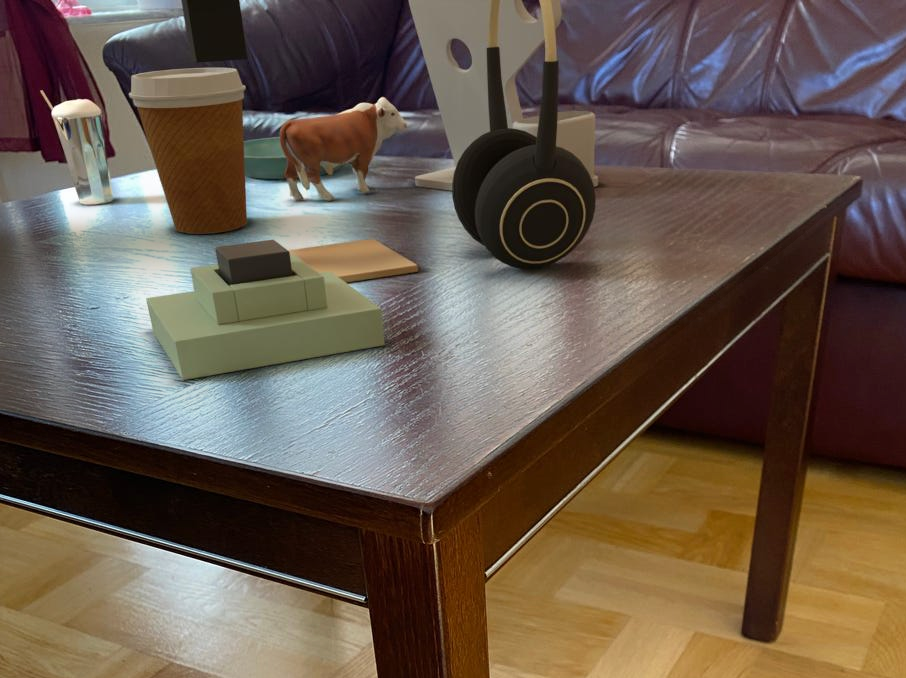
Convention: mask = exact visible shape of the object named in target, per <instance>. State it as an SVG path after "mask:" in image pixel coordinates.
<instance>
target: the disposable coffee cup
mask: <svg viewBox="0 0 906 678" xmlns="http://www.w3.org/2000/svg"><path fill="white" fill-rule="evenodd" d="M130 78H131V79H130V80H131V81H130V84H131V87H130V92H128V96H129V98H130V99H132V102H133V106H135V107H136V109H137V111H138V114H139V118H140V121H141V124H142V127H143V130H144V134H145V137H146V140H147V143H148V146H149V150H150V153H151V155H152V159H153V162H154V165H155V169H156V171H157V174H158V178H159V181H160V184H161V188H162V191H163V194H164V196H165V200H166V203H167V207H168V210H169V213H170V216H171V219H172V222H173V226H174V230H175V231H176V232H179V233H184V234H188V235H189V234H190V235H191V234H192V235H207V234H218V233H224V232H230V231H234V230H237V229H240V228H243V227H245V226H246V225H247V224H248V217H247V216H248V215H247V213H248V212H247V190H246V175H245V163H244V141H245V140H244V136H245V135H244V118H243V117H244V116H243V111H244V110H243V99H244V98H245V93H244V91H246V90H247V89H246V88H247V87H246V85H245V84H243V83H242V80H241V77H240V73H239V71H238V69H237V68H231V67H193V68H175V69H165V70H155V71H148V72H141V73H137V74H132V75H131V77H130Z"/></svg>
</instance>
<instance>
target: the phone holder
mask: <svg viewBox="0 0 906 678" xmlns="http://www.w3.org/2000/svg"><path fill="white" fill-rule="evenodd" d="M538 2H539V3H540V0H538ZM490 3H491V0H408V5H409V8H410V12H411V15H412V20H413V23H414V26H415V30H416V33H417V37H418V40H419V44H420V47H421V50H422V54H423V58H424V61H425V65H426V68H427V72H428V75H429V78H430V83H431V87H432V89H433V94H434V97H435V100H436V103H437V107H438V111H439V114H440V117H441V121H442V124H443V128H444V131H445V134H446V138H447V142H448V145H449V148H450V153H451V156H452V160H453V163H454V166H453V167H449V168H445V169H441V170H436V171H433V172H432V171H431V172H429V173H424V174H419V175H416V176H415V177H414V181H415V186H416V187H420V188H428V189H435V190H445V191H450V192H452V182H453V176H454V171H455V169H456V166H457V163H458V161H459V159H460V157H461V156H462V154H463V152H464V151H465V150H466V149H467V148H468V147H469V145H470V144H471V143H472V142H473V141H475V140H476V139H477V138H479V137H480V136H481V135H483V134H485V133H488V132H490V124H489V107H488V82H487V48H488V28H489V12H490ZM551 4H552V10H553V17H554V26H555V30H556V29H557V28H558V27H559V26H560V25H561V21H562V17H563V10H562V6H561V5H562V4H561V1H560V0H551ZM539 6H540V7H541V5H540V4H539ZM497 39H498V47H499V49H500V64H501V78H502V86H503V94H504V101H505V109H506V116H507V125H508V128H513V129H518V130H522V131H526V132H528V133H530V134H532V135H534V136H536V137H537V131H538V123H539V115H536V116H531V117H526V118H524V116H523V112H522V108H521V104H520V103H521V102H520V98H519V94H518V90H517V86H516V77H517V74H518V73H519V71H520V70H521V69H522V68H523V67H524V66H525V65H526V63H528V61H530V59H531V58H532V57H533V55H534V54H536V52H538V50H539V49H540V48H541V46H543V44H545V36H544V26H543V18H542V11H541V10H540V14H539V18H538V19H537V18H536V17H534V16H532V15H531V14H530V12H528V10H527V8H526V7H525V5H524V3H523V0H500V7H499V17H498V35H497ZM453 40H459V41H461V42H463V43H464V44H465V46H466V47H467V48H468V50H469V52H470V55H471V65H470V67H469V68H468V69H463V68H460V66H459V63H458V62H457V61H456V59H455V58H454V56H453V53H452V49H451V48H452V45H451V44H452V41H453ZM595 137H596V115H595V113H594V112H592V111H588V110H587V111H586V110H564V111H558V118H557V138H556V146H557V147H561V148H563V149H565V150H567V151H569V152H571V153H573V154H574V155H575V156H576V157H577V158H578V159H580V161H581V162H582V163H583V165H584V166H585V168H586V169H587V171H588V172H589V174H590V176H591V179H592V181H593V184H594V188H596V187H597V186H599V176H598V175H595V146H596V143H595V142H596V138H595Z"/></svg>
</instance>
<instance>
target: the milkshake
mask: <svg viewBox="0 0 906 678" xmlns="http://www.w3.org/2000/svg"><path fill="white" fill-rule="evenodd" d="M39 92H40V94H41V95H42V97H43V98H44V100H45V102H46V103H47V105H48V107H49V108H50V110H51V117H52V119H53V123H54V126H55V129H56V132H57V135H58V138H59V141H60V144H61V146H62V149H63V152H64V157H65V159H66V163H67V166H68V169H69V172H70V175H71V178H72V179H71V180H72V182H73V185H74V188H75V192H76V194H77V198H78V201H79V203H80V204H81V205H85V206H86V205H87V206H88V205H89V206H90V205H93V206H94V205H103V204H106V203H111V202H113V200H114V192H113V186H112V180H111V173H110V166H109V161H108V153H107V147H106V146H107V145H106V139H105V132H104V124H103V123H104V122H103V116H102V114H103V113H102V110H101V108H100V107H99V106H98V105H97V104H96V103H95V102H93V101H92V100H90V99H87V98H84V99H81V98H77V99H72V100H66V101H63V102H62V103H59V104H57V105H54V107H53V105H52V103H51V102H50V100H49V98H48V97H47V96H46V95H47V94H45V92H44V90H42V89H41V90H39Z"/></svg>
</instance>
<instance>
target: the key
mask: <svg viewBox="0 0 906 678" xmlns="http://www.w3.org/2000/svg"><path fill="white" fill-rule="evenodd" d="M214 250H215V255H216V261H217V264H218V267H219V273H220V277H221V278H222V279H223V280H224V281H225V282H226V283H227V284H228V285H229V286H230V285H235V284H241V283H248V282H255V281H262V280H269V279H276V278H283V277H290V276H293V274H292V267H291V259H290V252H289V251H288V250H289V249H287V248H285V247H284V246H283V245H282V244H281V243H279V242H278V241H276V240H275V239H266V240H259V241H251V242H244V243H235V244H229V245H222V246H216V247H215V249H214Z"/></svg>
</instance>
